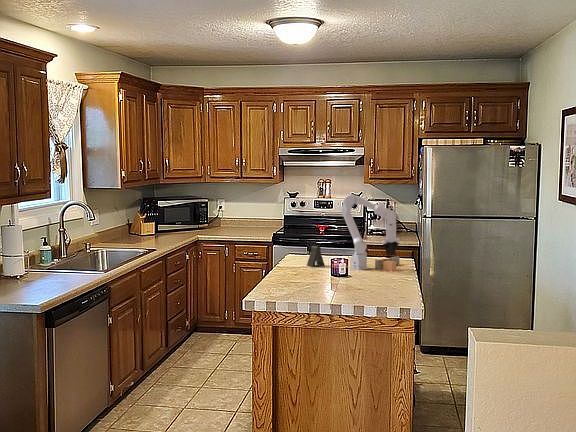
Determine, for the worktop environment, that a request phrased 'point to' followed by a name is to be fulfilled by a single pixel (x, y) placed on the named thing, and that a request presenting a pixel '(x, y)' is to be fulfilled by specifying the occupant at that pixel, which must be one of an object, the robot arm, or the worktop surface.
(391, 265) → the terracotta rectangular block
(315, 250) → the phone stand
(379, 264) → the gate door
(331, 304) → the worktop surface
